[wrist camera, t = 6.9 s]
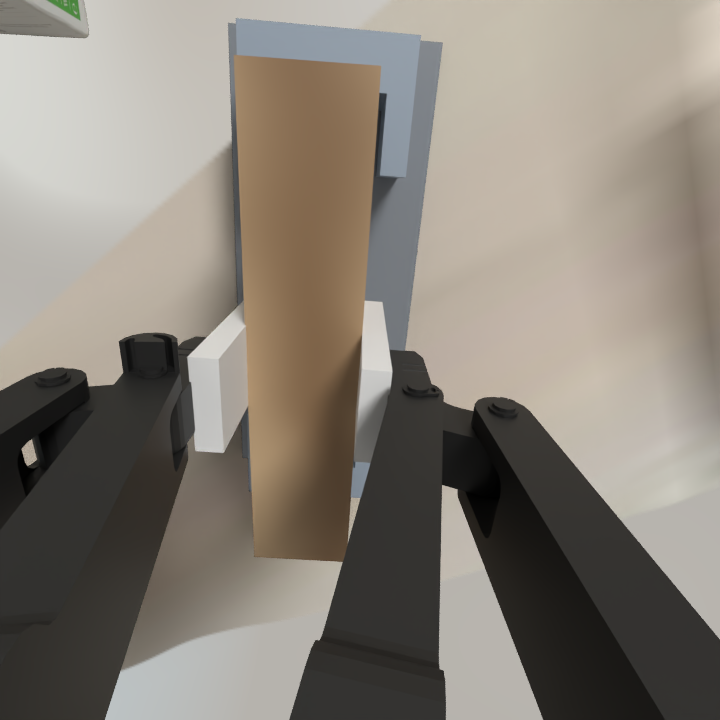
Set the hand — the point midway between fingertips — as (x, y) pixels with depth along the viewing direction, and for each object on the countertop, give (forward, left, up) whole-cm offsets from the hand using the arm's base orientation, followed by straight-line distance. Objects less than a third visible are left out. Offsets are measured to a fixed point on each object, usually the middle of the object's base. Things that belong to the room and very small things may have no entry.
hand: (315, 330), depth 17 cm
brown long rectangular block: (0, 0, -1) cm, 1 cm away
